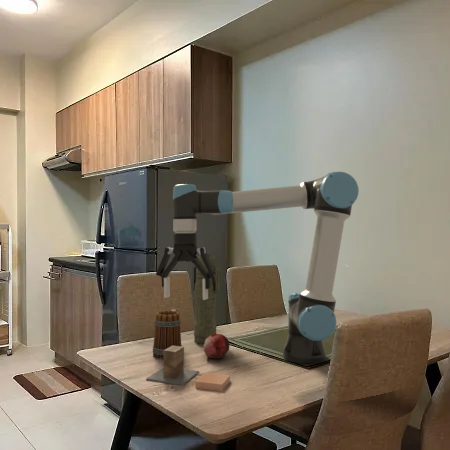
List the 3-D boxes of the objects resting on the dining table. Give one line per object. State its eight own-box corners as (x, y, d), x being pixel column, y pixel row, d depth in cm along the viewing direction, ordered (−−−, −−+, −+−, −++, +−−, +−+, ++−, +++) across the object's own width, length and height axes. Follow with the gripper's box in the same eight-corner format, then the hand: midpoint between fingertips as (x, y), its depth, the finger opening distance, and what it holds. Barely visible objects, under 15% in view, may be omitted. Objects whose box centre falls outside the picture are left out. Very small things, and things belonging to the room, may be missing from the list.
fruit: (232, 355, 157) (233, 327, 157) (224, 363, 148) (224, 333, 148) (209, 352, 160) (209, 325, 160) (199, 359, 151) (199, 331, 151)
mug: (176, 359, 150) (177, 316, 150) (148, 357, 152) (148, 314, 152) (189, 347, 166) (189, 308, 166) (163, 345, 168) (163, 306, 168)
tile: (230, 375, 130) (221, 384, 122) (230, 382, 130) (221, 392, 122) (204, 372, 132) (195, 381, 125) (204, 379, 132) (195, 388, 125)
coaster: (199, 372, 137) (199, 371, 137) (182, 385, 126) (182, 383, 126) (165, 367, 142) (165, 366, 142) (146, 379, 130) (146, 378, 130)
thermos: (214, 345, 168) (215, 255, 168) (187, 342, 173) (188, 254, 173) (222, 340, 177) (224, 254, 177) (196, 337, 181) (197, 253, 181)
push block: (183, 372, 136) (184, 346, 136) (175, 378, 130) (175, 351, 130) (172, 370, 137) (172, 345, 137) (163, 376, 132) (163, 350, 132)
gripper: (225, 232, 140) (226, 298, 140) (156, 232, 148) (157, 294, 148) (216, 232, 133) (217, 302, 132) (145, 233, 141) (146, 298, 141)
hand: (185, 298), depth 140 cm, fingers open, 13 cm apart
